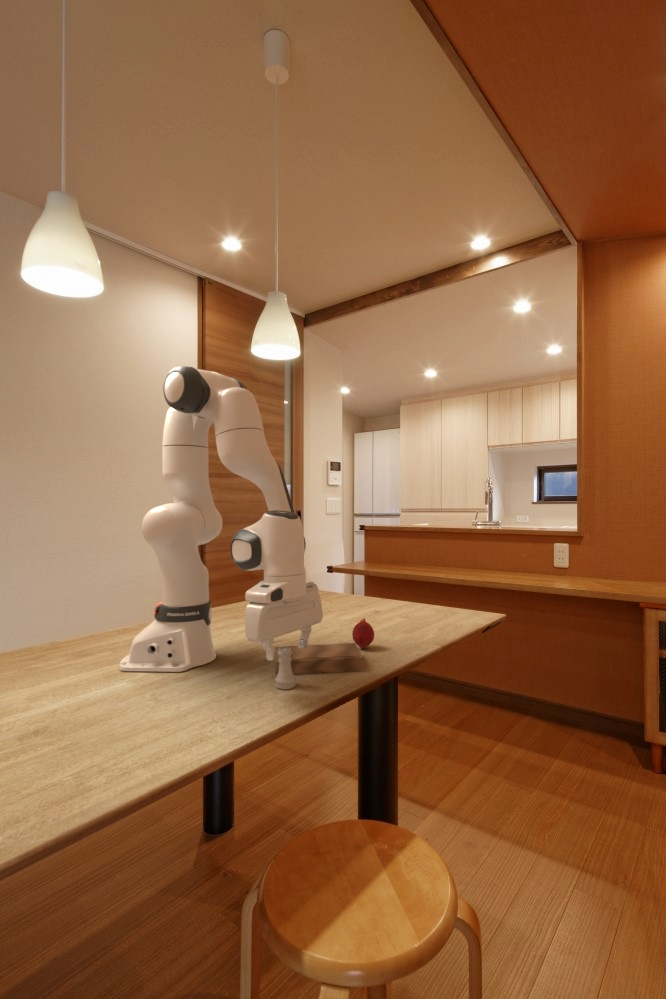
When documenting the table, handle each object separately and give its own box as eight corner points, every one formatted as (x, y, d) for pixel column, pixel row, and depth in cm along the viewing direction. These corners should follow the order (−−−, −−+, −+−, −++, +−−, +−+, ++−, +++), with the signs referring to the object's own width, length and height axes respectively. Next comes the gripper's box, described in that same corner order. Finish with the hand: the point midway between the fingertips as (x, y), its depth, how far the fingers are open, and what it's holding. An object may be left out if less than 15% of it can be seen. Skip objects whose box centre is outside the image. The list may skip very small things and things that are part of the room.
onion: (375, 651, 127) (374, 620, 127) (352, 652, 127) (352, 620, 127) (373, 645, 133) (373, 615, 133) (352, 645, 133) (351, 615, 133)
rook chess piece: (287, 691, 101) (286, 652, 101) (270, 687, 103) (269, 649, 103) (300, 684, 105) (299, 647, 105) (283, 681, 107) (282, 644, 107)
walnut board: (275, 675, 111) (275, 661, 111) (275, 658, 123) (275, 646, 123) (363, 670, 113) (363, 656, 113) (355, 654, 125) (355, 642, 125)
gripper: (306, 579, 114) (309, 639, 114) (238, 594, 98) (241, 664, 98) (327, 581, 110) (330, 643, 110) (260, 596, 94) (264, 669, 94)
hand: (288, 653), depth 104 cm, fingers open, 8 cm apart
